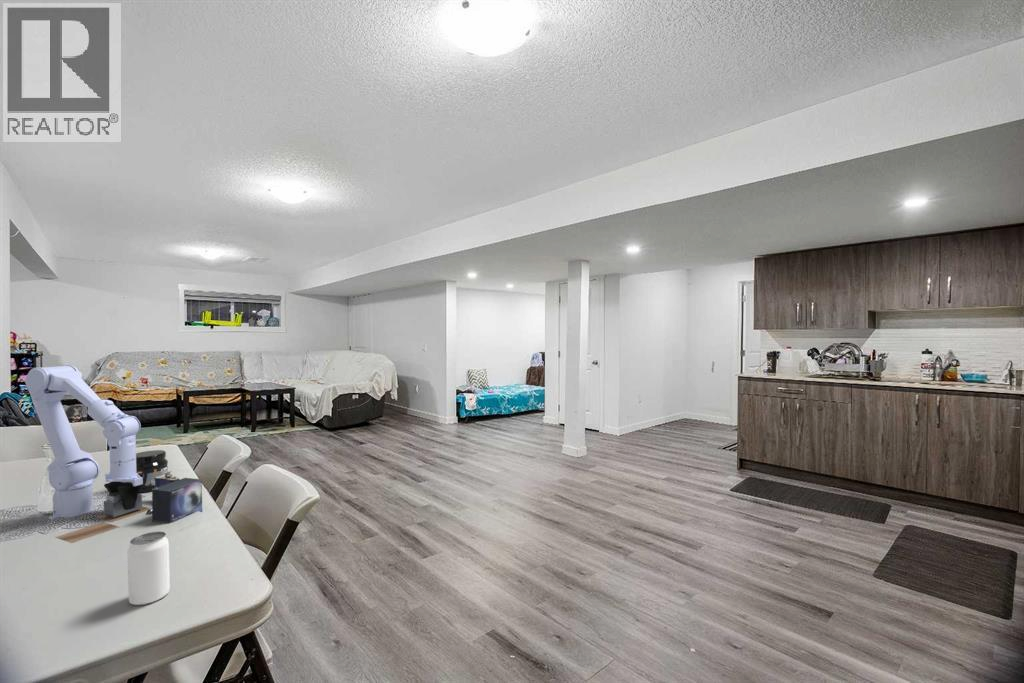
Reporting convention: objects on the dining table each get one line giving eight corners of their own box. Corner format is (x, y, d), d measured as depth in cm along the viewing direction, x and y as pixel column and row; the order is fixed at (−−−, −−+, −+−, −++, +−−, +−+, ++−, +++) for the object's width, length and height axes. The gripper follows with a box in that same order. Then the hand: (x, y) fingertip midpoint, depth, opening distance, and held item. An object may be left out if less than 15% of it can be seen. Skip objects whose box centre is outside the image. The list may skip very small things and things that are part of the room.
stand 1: (55, 543, 116) (55, 537, 116) (103, 527, 126) (103, 522, 126) (72, 548, 113) (71, 542, 113) (120, 532, 122) (120, 526, 122)
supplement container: (128, 488, 158) (127, 453, 157) (166, 481, 165) (165, 448, 164) (130, 496, 150) (129, 459, 149) (170, 488, 157) (169, 453, 157)
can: (144, 588, 95) (142, 531, 95) (177, 587, 96) (175, 529, 95) (120, 607, 89) (118, 545, 88) (155, 605, 89) (154, 544, 89)
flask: (153, 506, 141) (152, 471, 141) (163, 503, 144) (162, 468, 143) (174, 510, 138) (173, 474, 138) (184, 506, 141) (183, 471, 140)
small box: (170, 529, 124) (169, 490, 124) (150, 527, 125) (149, 489, 125) (204, 514, 135) (203, 478, 134) (185, 512, 136) (184, 477, 136)
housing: (104, 515, 129) (103, 495, 129) (133, 505, 136) (132, 486, 135) (113, 517, 127) (112, 497, 127) (142, 507, 134) (141, 488, 134)
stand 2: (95, 522, 129) (95, 517, 129) (136, 509, 138) (136, 504, 138) (111, 527, 126) (111, 521, 126) (152, 513, 135) (152, 508, 135)
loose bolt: (145, 520, 130) (145, 510, 130) (153, 516, 133) (153, 507, 133) (166, 520, 130) (165, 511, 130) (173, 516, 133) (173, 507, 133)
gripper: (91, 461, 131) (93, 508, 131) (121, 466, 125) (122, 516, 125) (121, 454, 137) (122, 500, 137) (150, 460, 131) (151, 507, 132)
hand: (124, 507), depth 132 cm, fingers closed on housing, 4 cm apart
